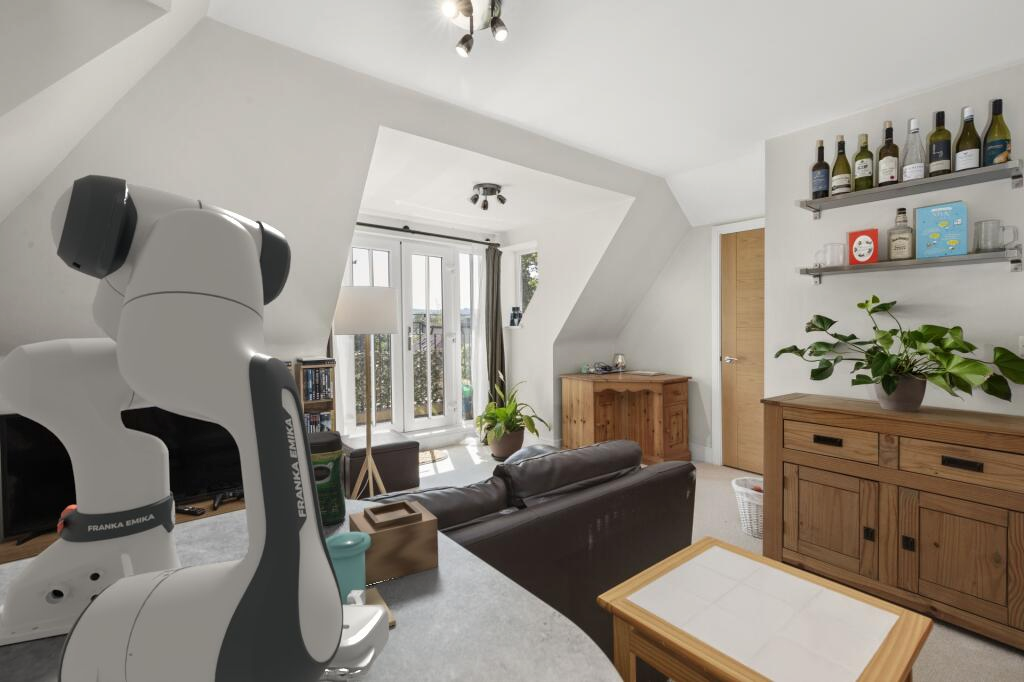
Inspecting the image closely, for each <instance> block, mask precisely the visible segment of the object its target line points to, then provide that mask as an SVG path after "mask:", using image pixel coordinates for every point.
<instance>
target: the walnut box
mask: <svg viewBox="0 0 1024 682" xmlns="http://www.w3.org/2000/svg"><path fill="white" fill-rule="evenodd" d="M348 521H349V522H348V525H349V526H348V527H349V532H363V533H366V534H368V535H369V536H370V540H371V545H370V547H369V548H368V549H367V550H366V551H365V580H366V585H369V584H373V583H376V582H380V581H384V580H388V579H392V578H395V579H398V577H399V578H402V577H405V575H406V576H409V575H412V574H416V573H419V572H423V571H426V570H427V571H428V570H430V569H434V568H437V567H439V533H438V532H439V531H438V530H439V529H438V517H437V516H435V515H434V514H433V513H432V512H431V511H429V510H428V508H426V507H425V506H423V505H422V504H421V503H420V502H419V501H417V500H413V501H409V500H408V499H404V500H398V501H394V502H389V503H385V504H384V503H383V504H379V505H378V504H377V505H374V506H369V507H364V508H363V511H360V512H356V513H351V514H348ZM401 576H402V577H401ZM392 580H393V579H392ZM388 581H389V580H388Z"/></svg>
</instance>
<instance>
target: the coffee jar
mask: <svg viewBox="0 0 1024 682" xmlns="http://www.w3.org/2000/svg"><path fill="white" fill-rule="evenodd" d="M307 433H308V438H309V444H310V451H311V457H312V463H313V469H314V475H315V481H316V487H317V494H318V500H319V506H320V512H321V518H322V524H323V526H326V525H332V524H336V523H339V522H340V521H342V520H344V518H345V517H346V514H347V513H346V509H347V508H346V499H345V493H344V488H343V479H342V470H341V469H342V467H341V466H342V465H341V461H342V460H341V459H342V456H343V453H344V445H343V441H342V436H341V433H340V431H339V430H329V431H328V430H324V431H314V432H307Z"/></svg>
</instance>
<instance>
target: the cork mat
mask: <svg viewBox="0 0 1024 682" xmlns="http://www.w3.org/2000/svg"><path fill="white" fill-rule="evenodd" d="M366 605H382V606H384V607H385V609H386V610H387V612H388V617H389V626H391V627H393V626H392V625H394V626H396V625H397V620H396V618H395V616H394V615H393V614H392V612H391V610H390V608H389V606H387V603H386V602H385V600H384V598H383V597H382V596H381V594H380V592H379V591H378V589H377V587H376V586H374V587H372V588H368V589H367V588H366ZM395 624H396V625H395Z"/></svg>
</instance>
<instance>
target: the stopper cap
mask: <svg viewBox="0 0 1024 682" xmlns="http://www.w3.org/2000/svg"><path fill="white" fill-rule="evenodd" d="M325 540H326V544H327V548H328V551H329V554H330V557H331V561H332V564H333V567H334V570H335V573H336V576H337V580H338V583H339V587H340V592H341V597H342V604H343V605H349V604H348V603H347V596H348V595H349V594H350V593H351V591H352V590H365V604H364V605H366V590H367V587H366V580H365V551H366V550H367V549H368V548H369V547H370V545H371V540H370V536H369V535H368V534H366V533H363V532H350V531H345V532H340V533H337V534H334V535H331V536H330V537H326V538H325Z"/></svg>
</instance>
